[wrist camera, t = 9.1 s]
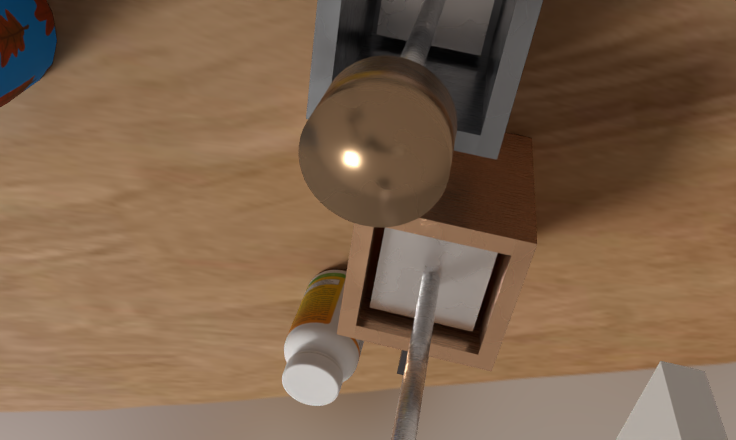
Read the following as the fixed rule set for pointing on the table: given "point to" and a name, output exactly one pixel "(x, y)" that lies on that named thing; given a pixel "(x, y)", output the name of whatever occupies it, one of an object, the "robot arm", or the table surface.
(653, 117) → the table surface
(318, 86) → the grey box
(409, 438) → the grey capped rod
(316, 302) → the supplement bottle
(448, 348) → the light wood box
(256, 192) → the table surface
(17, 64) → the thermos
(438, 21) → the tan and silver rod
